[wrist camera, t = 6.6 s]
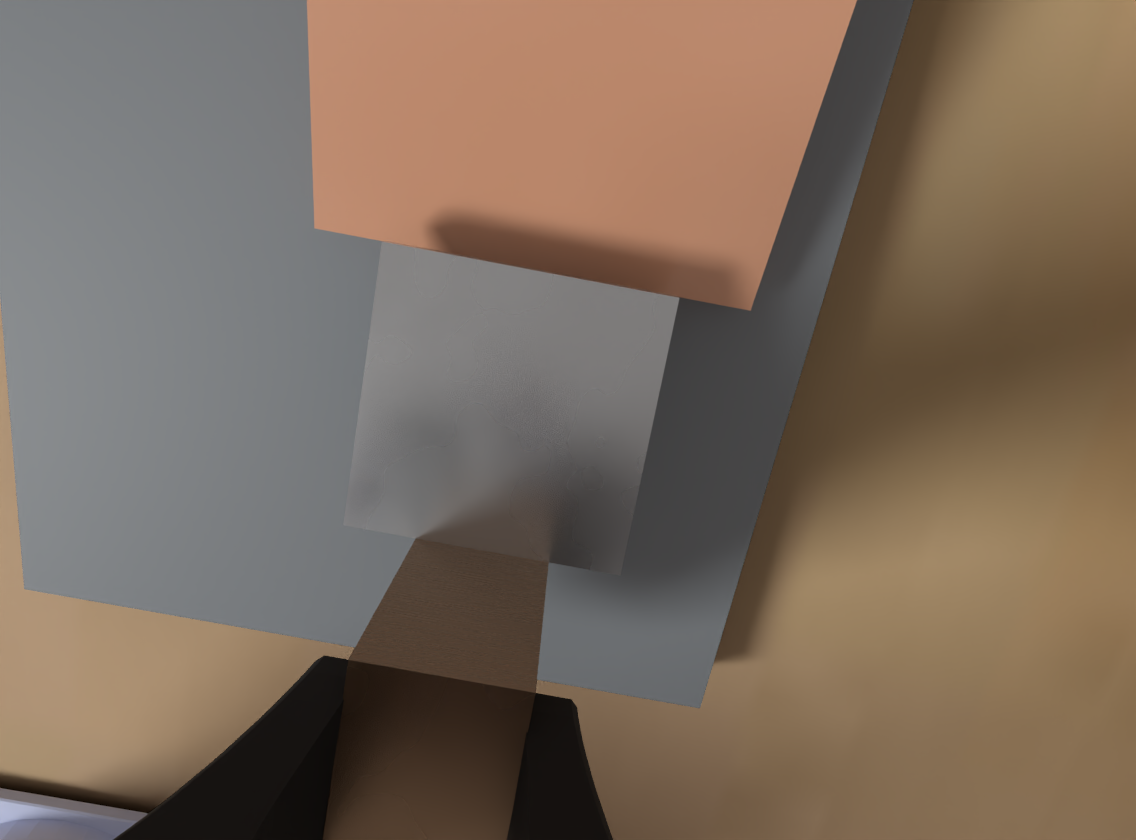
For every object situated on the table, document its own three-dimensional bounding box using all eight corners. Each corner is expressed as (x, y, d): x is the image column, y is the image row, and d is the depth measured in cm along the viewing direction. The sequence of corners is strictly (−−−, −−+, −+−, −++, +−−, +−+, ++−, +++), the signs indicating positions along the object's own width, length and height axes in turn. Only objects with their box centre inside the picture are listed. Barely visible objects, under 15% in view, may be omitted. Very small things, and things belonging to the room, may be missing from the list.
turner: (578, 752, 16) (577, 969, 12) (325, 707, 16) (215, 908, 11) (675, 295, 15) (723, 324, 10) (390, 241, 14) (291, 242, 10)
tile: (750, 310, 15) (940, -245, 10) (314, 228, 15) (294, -378, 10) (746, 283, 16) (921, -244, 11) (332, 205, 16) (321, -368, 11)
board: (694, 667, 21) (699, 708, 20) (63, 555, 21) (24, 589, 19) (979, -312, 14) (1021, -357, 12) (-2, -516, 13) (-73, -585, 12)
